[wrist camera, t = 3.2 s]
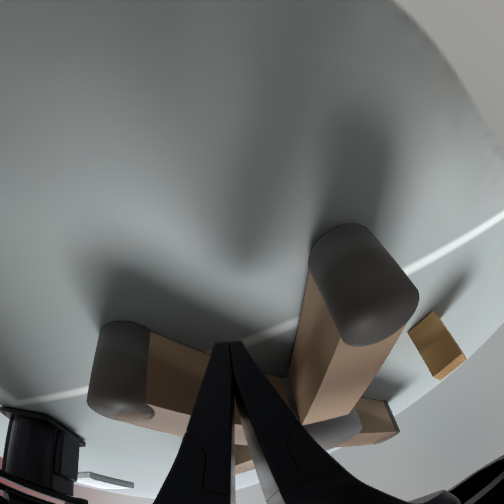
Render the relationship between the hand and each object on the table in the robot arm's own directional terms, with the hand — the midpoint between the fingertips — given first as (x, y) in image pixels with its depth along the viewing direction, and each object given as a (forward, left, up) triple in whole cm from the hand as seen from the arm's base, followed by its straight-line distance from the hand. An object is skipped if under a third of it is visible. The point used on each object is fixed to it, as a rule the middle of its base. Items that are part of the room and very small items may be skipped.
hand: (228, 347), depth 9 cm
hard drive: (-29, -41, -3) cm, 50 cm away
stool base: (+2, -10, -2) cm, 11 cm away
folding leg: (+4, -1, -2) cm, 5 cm away
